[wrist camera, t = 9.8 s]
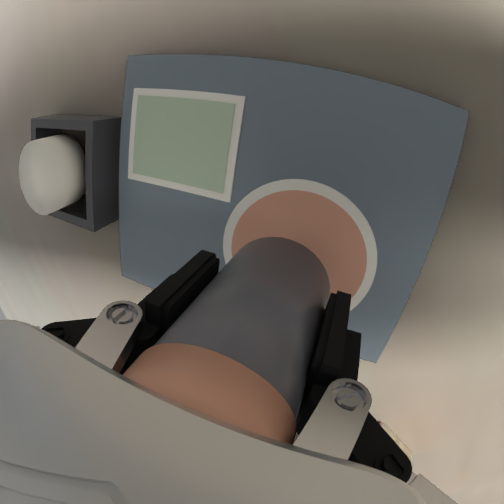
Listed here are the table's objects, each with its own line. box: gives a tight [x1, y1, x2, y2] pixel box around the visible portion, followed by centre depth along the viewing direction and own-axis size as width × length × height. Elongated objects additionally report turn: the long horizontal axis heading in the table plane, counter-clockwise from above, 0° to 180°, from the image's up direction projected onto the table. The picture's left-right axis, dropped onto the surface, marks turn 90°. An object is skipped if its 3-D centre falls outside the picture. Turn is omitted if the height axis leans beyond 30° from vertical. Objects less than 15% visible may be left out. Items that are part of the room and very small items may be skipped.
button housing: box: [31, 114, 122, 232], centre depth 18 cm, size 7×7×2 cm
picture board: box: [119, 54, 469, 363], centre depth 16 cm, size 17×14×1 cm
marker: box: [123, 237, 330, 445], centre depth 10 cm, size 5×5×9 cm
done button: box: [19, 134, 86, 215], centre depth 16 cm, size 5×5×2 cm
